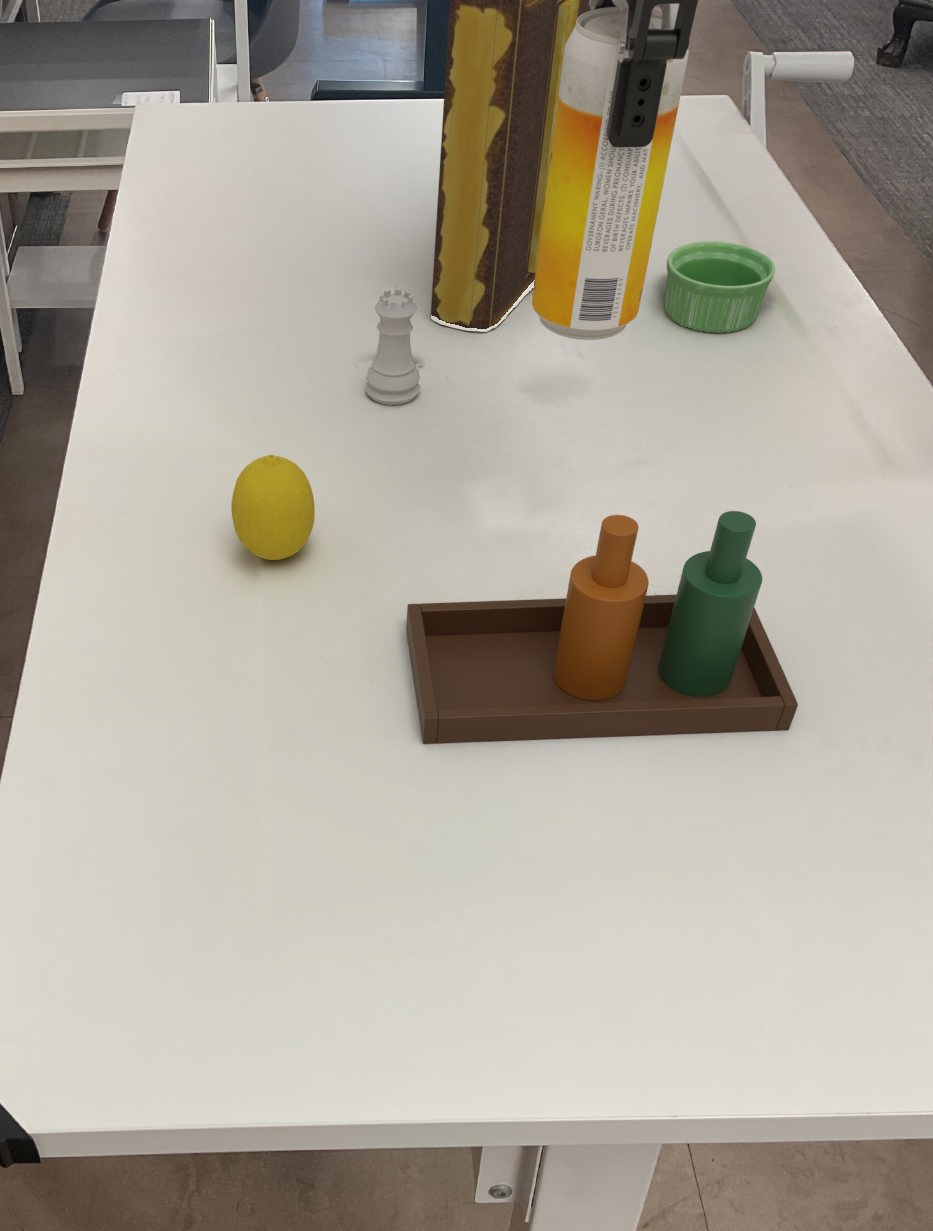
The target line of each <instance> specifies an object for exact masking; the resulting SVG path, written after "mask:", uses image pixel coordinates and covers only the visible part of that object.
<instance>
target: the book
mask: <svg viewBox="0 0 933 1231" xmlns="http://www.w3.org/2000/svg"><path fill="white" fill-rule="evenodd" d="M588 11H590V6H589V0H449V11H448V29H447V45H446V59H445V75H444V76H445V77H444V92H443V110H442V123H441V124H442V126H441V140H440V141H441V142H440V158H439V172H438V189H437V190H438V191H437V206H436V208H437V209H436V220H435V222H436V223H435V238H434V239H435V240H434V254H433V255H434V256H433V268H432V269H433V271H432V288H431V300H430V301H431V302H430V316H431V315H432V316H435V317H437V318H438V319H439V320H442V321H445V322H446V323H450V324H455V325H459V326H462V327H465V328H477V329H487V328H489V327H491V326H494V325H495V324H497V323H498V322H499V321H500V320H501V318H502V317H503V316H504V315H505V314H506V312H508V310H509V309H510V308H511V307H512V306H513V304H514V303H515V302H516V301H517V300H518V298H519V297H520V296H521V295H522V293H523V292H524V291H525V290H526V289H527V288H528V286H529V285H530V284H531V283H532V282H533V281H534V280H535V274H536V266H537V258H538V250H539V243H540V235H541V227H542V220H543V212H544V204H545V196H546V189H547V181H548V173H549V166H550V158H551V150H552V142H553V135H554V127H555V119H556V112H557V104H558V96H559V88H560V81H561V73H562V65H563V58H564V50H565V44H566V42H567V41H568V39H569V37H570V35H571V33H572V32H573V30H574V28H575V26H576V21H577V18H578V17H579V16H580V15H582V14H583V13H585V12H588Z"/></svg>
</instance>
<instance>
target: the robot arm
mask: <svg viewBox="0 0 933 1231" xmlns="http://www.w3.org/2000/svg"><path fill="white" fill-rule="evenodd" d="M698 2H699V0H589V6H590V11H591V10H595V9H601V8H609V7H618V8H619V9H620V11H621V22H620V38H619V43H618V48H617V53H618V54H619V59H618V63H617V70H616V76H615V82H614V89H613V95H612V101H611V107H610V114H609V120H608V126H607V138H608V140H609V142H610V144H611V145H612V146H614V147H645V146H647V145H648V144H649V143H650V142H651V141H652V139H653V136H654V131H655V125H656V120H657V114H658V109H659V104H660V98H661V93H662V87H663V82H664V77H665V71H666V66H667V63H666V62H672V61H673V59H683V58H684V57H685V55H686V51H687V49H688V50H689V46H690V38H691V33H692V29H693V24H694V21H695V20H694V19H695V16H696V13H697V12H696V11H697V8H698ZM655 7H658V8H660V11H661V12H662V23H661V29H649V24H650V19H651V14H652V10H654V8H655Z"/></svg>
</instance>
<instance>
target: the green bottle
mask: <svg viewBox="0 0 933 1231" xmlns="http://www.w3.org/2000/svg"><path fill="white" fill-rule="evenodd" d="M756 527H757V522H756V519H755V518H754V517H753V516H752V515H750V514H748V513H746V512H744V511H739V510H729V511H725V512H723V513H722V514H720V515H719V517H718V520H717V523H716V527H715V531H714V534H713V539H712V542H711V546H710V550H706V551H702V552H698V553H695V554H692V556H690V557H689V558H688V559H687V560H685V562H684V564H683V567H682V571H681V575H680V580H679V583H678V586H677V591H676V594H677V595H676V599H675V603H674V607H673V610H672V614H671V618H670V622H669V626H668V630H667V634H666V638H665V642H664V646H663V650H662V654H661V658H660V662H659V666H658V671H659V675H660V677H661V679H662V680H663V681H664V683H665V684H667V685H668V686H669V687H670V688H672V689H674V690H675V691H677V692H680V693H682V694H685V695H689V696H696V697H708V696H713V695H716V694H719V693H721V692H723V691H724V690H725V689H726V688H727V687H728V686H729V684H730V682H731V679H732V676H733V673H734V670H735V666H736V663H737V660H738V657H739V654H740V650H741V647H742V644H743V641H744V638H745V635H746V631H747V628H748V625H749V622H750V619H751V615H752V612H753V609H754V607H755V605H756V602H757V599H758V596H759V593H760V589H761V587H762V584H763V575H762V572H761V570H760V568H759V567H758V566H757V565H756V563H754V562H753V561H752V560H750V559H748V558H747V557H748V554H749V550H750V547H751V543H752V540H753V537H754V533H755V530H756Z"/></svg>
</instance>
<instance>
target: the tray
mask: <svg viewBox="0 0 933 1231" xmlns="http://www.w3.org/2000/svg"><path fill="white" fill-rule="evenodd" d="M676 595H677V593H676V594H652V595H651V594H649V595H647V594H646V597H645V602H644V606H643V610H642V615H641V619H640V623H639V628H638V632H637V636H636V641H635V645H634V649H633V654H632V658H631V662H630V667H629V671H628V675H627V680H626V684H625V686H624V688H623V689H622V691H621V692H620V693H618V694H617V695H615V696H614V697H611V698H609V699H605V700H597V701H592V700H584V699H580V698H576V697H574V696H571V695H569V694H568V693H566V692H565V691H563V690H562V689H561V688H560V687H559V686H558V685H557V683H556V681H555V678H554V666H555V660H556V655H557V649H558V643H559V637H560V632H561V626H562V620H563V614H564V608H565V603H566V598H562V597H561V598H537V599H535V598H534V599H512V600H509V599H508V600H482V601H481V600H480V601H478V600H477V601H454V602H426V603H425V602H424V603H422V602H421V603H407V606H406V622H405V623H406V624H405V630H406V638H407V644H408V645H407V646H408V651H409V658H410V665H411V670H412V671H411V672H412V678H413V685H414V693H415V698H416V707H417V712H418V719H419V726H420V733H421V739H422V744H423V745H442V744H443V745H444V744H466V743H467V744H468V743H493V742H497V743H498V742H521V741H548V740H572V739H573V740H575V739H601V738H623V737H624V738H627V737H628V738H629V737H651V736H653V737H655V736H675V735H676V736H679V735H680V736H681V735H703V734H727V733H730V734H731V733H732V734H733V733H754V732H755V733H756V732H757V733H758V732H781V731H782V732H783V731H789V730H790V728H791V725H792V723H793V720H794V718H795V715H796V712H797V709H798V706H799V703H798V701H797V698H796V696H795V694H794V692H793V690H792V688H791V685H790V683H789V681H788V679H787V676H786V674H785V672H784V669H783V667H782V665H781V663H780V661H779V659H778V656H777V654H776V652H775V650H774V647H773V645H772V643H771V640H770V639H769V636H768V633H767V632H766V630H765V627H764V625H763V623H762V621H761V619H760V616H759V614H758V612H757V610H756V607H755V606H754V609H753V612H752V615H751V619H750V622H749V625H748V628H747V631H746V635H745V638H744V641H743V644H742V647H741V650H740V654H739V657H738V660H737V663H736V666H735V670H734V673H733V676H732V679H731V682H730V684H729V686H728V687H727V688H726V689H725V690H724V691H723V692H721V693H719V694H716V695H713V696H708V697H696V696H689V695H685V694H682V693H680V692H677V691H675V690H674V689H672V688H670V687H669V686H668V685H667V684H665V683H664V681H663V680H662V679H661V677H660V675H659V671H658V666H659V662H660V658H661V654H662V650H663V646H664V642H665V638H666V634H667V630H668V626H669V622H670V618H671V614H672V610H673V607H674V603H675V599H676Z"/></svg>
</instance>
